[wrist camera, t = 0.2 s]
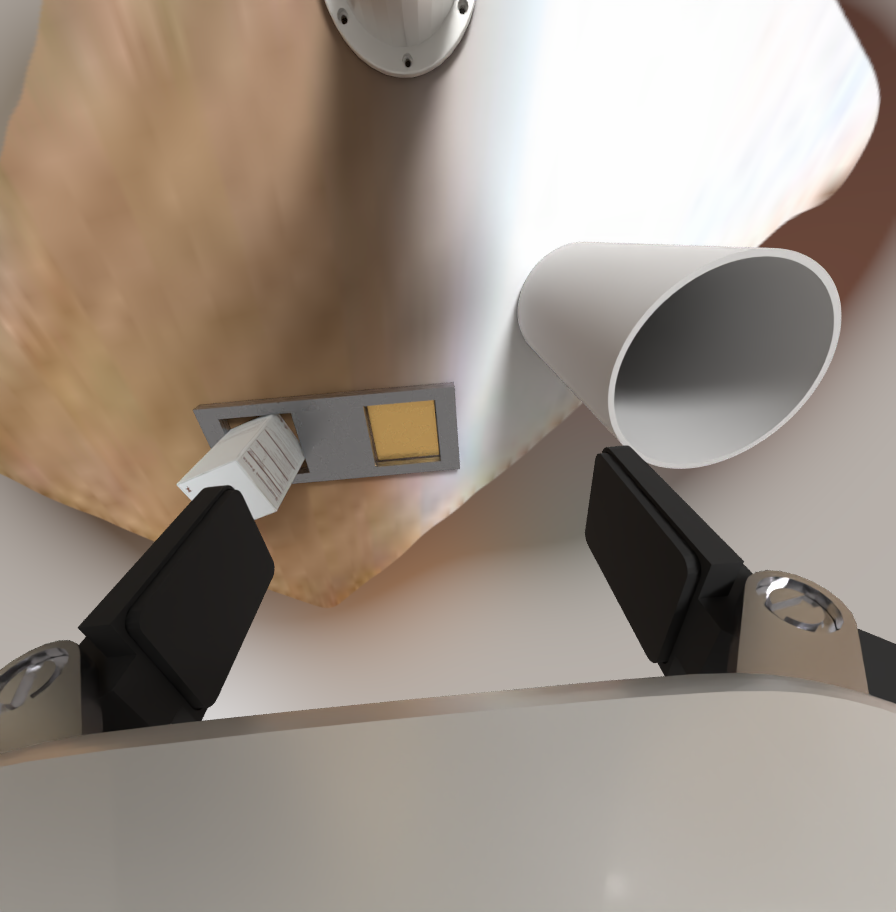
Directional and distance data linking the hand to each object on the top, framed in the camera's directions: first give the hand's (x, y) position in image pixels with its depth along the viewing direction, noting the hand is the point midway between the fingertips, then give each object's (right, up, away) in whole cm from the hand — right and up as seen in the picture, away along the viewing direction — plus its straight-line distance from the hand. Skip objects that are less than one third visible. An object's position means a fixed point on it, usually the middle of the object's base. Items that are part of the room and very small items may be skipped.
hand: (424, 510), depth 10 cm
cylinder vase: (+15, +19, +32) cm, 40 cm away
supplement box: (-23, +4, +39) cm, 46 cm away
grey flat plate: (-14, +4, +39) cm, 42 cm away
